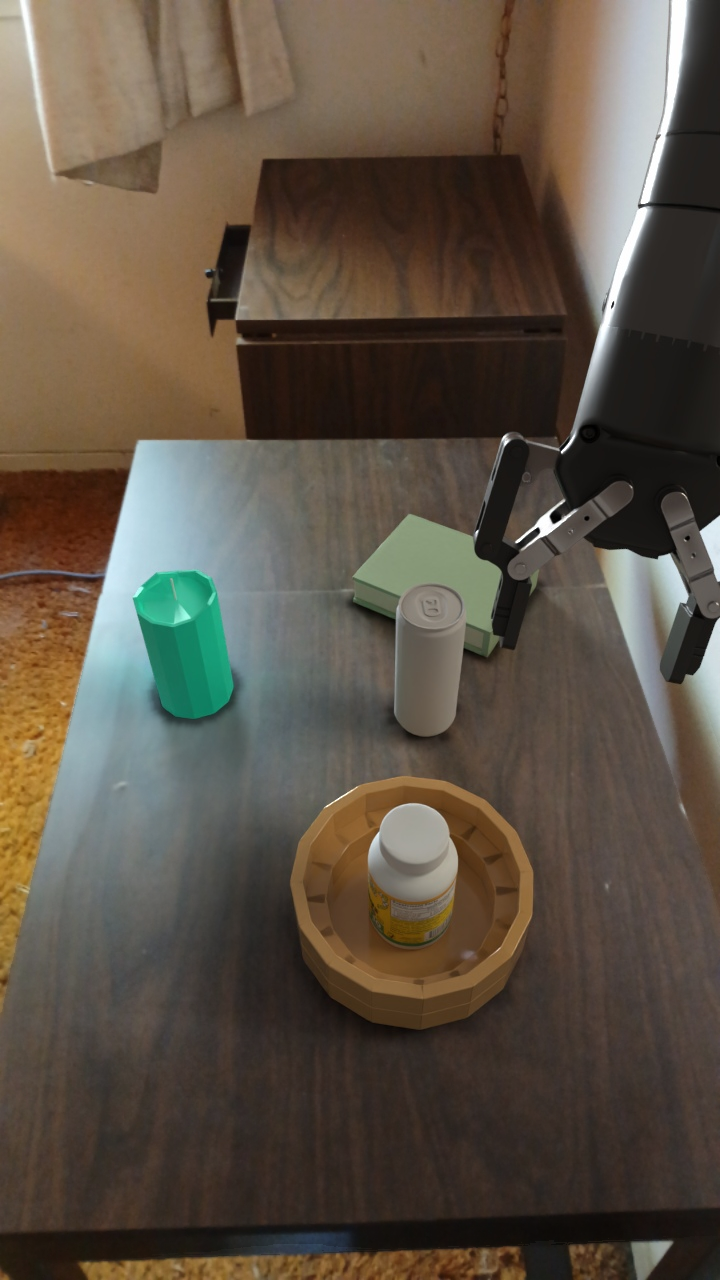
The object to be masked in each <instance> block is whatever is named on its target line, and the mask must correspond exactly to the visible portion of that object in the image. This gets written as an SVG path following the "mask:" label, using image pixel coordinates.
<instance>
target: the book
mask: <svg viewBox="0 0 720 1280" xmlns="http://www.w3.org/2000/svg"><path fill="white" fill-rule="evenodd" d="M539 572H540V568H539V569H538V570H537V571H536V572H534V573H533V574H532V575H530V578H531V582H532V587H531V591H530V595H529V597H530V596H531V595H532V593H533V592H534V590H536V587H537V584H538V578H539ZM500 576H501V570H500V569H499V568H498V567H497V566H496V565H494V564H492V563H491V562H489V561H487V560H482V559H480V558H478V557H477V555H476V554H475V551H474V541H473V535H470V534H467V533H464V532H461V531H459V530H456V529H453V528H452V527H451V528H450V527H448V526H445V525H442V524H440V523H437V522H434V521H431V520H428V519H426V518H423V517H420V516H418V515H415V514H412V513H408V514H407V516H406V517H405V518H403V520H402V521H401V522H400V523H399V525H397V526H396V528H395V529H394V530H393V531H392V532H391V533H390V534H389V535H388V537H387V538H386V539H385V540H384V541H383V542H382V543H381V544H380V545H379V547H378V548H376V550H375V551H374V552H373V553H372V554H371V556H370V557H368V559H367V560H366V561H365V562H364V563H363V564H362V566H360V568H359V569H358V570H357V571H356V572H355V573H354V575H353V576H352V581H353V582H354V597H353V598H352V602H353V603H355V604H357V605H360V606H362V607H364V608H367V609H369V610H371V611H374V612H376V613H378V614H381V615H384V616H386V617H388V618H391V619H393V620H396V612H397V607H398V605H399V600H400V597H401V595H402V594H403V593H404V592H405V591H406V590H407V589H409V588H411V587H412V586H415V585H418V584H422V583H439V584H444V585H446V586H449V587H451V588H453V589H454V590H456V591H457V592H458V593H459V594H460V595H461V596H462V598H463V600H464V602H465V610H466V627H465V636H464V646H463V649H465V650H468V651H470V652H473V653H475V654H478V655H480V656H482V657H485V658H489V656H490V655H491V653H492V651H493V650H494V649H495V647H496V646H497V644H498V643H499V642H500V641H499V636H496V635H493V629H492V622H491V613H492V608H493V604H494V600H495V596H496V592H497V588H498V584H499V580H500Z"/></svg>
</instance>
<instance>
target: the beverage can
mask: <svg viewBox="0 0 720 1280" xmlns="http://www.w3.org/2000/svg"><path fill="white" fill-rule="evenodd" d="M465 627H466V610H465V602H464V600H463V598H462V596H461V595H460V594H459V593H458V592H457V591H456V590H454V589H453V588H451V587H449V586H446V585H444V584H439V583H422V584H418V585H415V586H412V587H411V588H409V589H407V590H406V591H405V592H404V593H403V594H402V595H401V597H400V600H399V605H398V607H397V612H396V619H395V656H394V657H395V660H394V661H395V663H394V664H395V666H394V705H393V706H394V707H393V714H394V716H395V719H396V721H397V723H399V724H400V726H401V727H402V728H403V729H404V730H405V731H407V732H408V733H410V734H412V735H413V736H414V735H415V736H418V737H427V738H428V737H434V736H437V735H439V734H442V733H444V732H445V731H447V730H448V729H449V728H450V727H451V726H452V724H453V723H454V720H455V718H456V715H457V705H458V697H459V696H458V695H459V688H460V682H461V681H460V680H461V672H462V663H463V655H464V648H463V646H464V636H465Z"/></svg>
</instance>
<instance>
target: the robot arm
mask: <svg viewBox="0 0 720 1280" xmlns="http://www.w3.org/2000/svg"><path fill="white" fill-rule="evenodd" d="M667 25H668V26H667V37H666V38H667V39H666V55H665V56H666V58H665V59H666V60H665V84H664V96H663V97H664V98H663V106H662V107H663V108H662V113H661V119H660V122H659V125H658V129H657V132H656V135H655V140H654V142H653V146H652V149H651V154H650V157H649V161H648V165H647V169H646V173H645V176H644V180H643V184H642V187H641V191H640V195H639V200H638V203H637V208H638V209H636V210H635V213H634V216H633V219H632V223H631V225H630V228H629V231H628V233H627V236H626V238H625V240H624V242H623V246H622V248H621V250H620V253H619V255H618V258H617V261H616V263H615V268H614V271H613V274H612V277H611V282H610V285H609V288H608V290H607V292H606V293H605V296H604V300H603V303H602V307H601V320H600V324H599V326H598V331H597V335H596V339H595V342H594V347H593V349H592V354H591V357H590V362H589V367H588V370H587V373H586V377H585V381H584V385H583V388H582V391H581V395H580V400H579V403H578V407H577V411H576V415H575V418H574V422H573V425H572V428H571V431H570V433H569V435H568V436H567V438H566V440H564V442H563V443H562V444H561V445H560V447H554V446H552V445H547V444H545V443H544V444H543V443H539V442H536V441H532V440H529V439H526V438H525V437H524V436H523V434H521V433H520V432H517V431H509V432H507V433H505V434H504V435H503V437H502V438H501V440H500V443H499V446H498V449H497V453H496V458H495V460H494V463H493V467H492V470H491V474H490V476H489V480H488V483H487V487H486V490H485V494H484V497H483V499H482V503H481V507H480V510H479V514H478V517H477V521H476V523H475V528H474V531H473V534H472V536H473V541H474V551H475V554H476V555H477V557H478V558H480V559H482V560H487V561H489V562H491V563H492V564H494V565H496V566H497V567H498V568H499V569H500V570H501V576H500V580H499V584H498V588H497V592H496V596H495V600H494V604H493V608H492V613H491V622H492V629H493V635H496V636H499V641H498V642H499V647H500V649H504V650H511V651H515V650H516V647H517V644H518V640H519V636H520V633H521V629H522V625H523V621H524V619H525V614H526V610H527V606H528V602H529V598H530V596H531V595H530V591H531V587H532V582H531V578H530V575H532V574H533V573H534V572H536V571H537V570H538V569H539V570H540V568H542V567H544V566H545V564H547V563H548V562H549V561H551V560H552V559H553V558H555V557H557V556H561V555H563V554H564V553H565V552H567V551H569V549H571V548H572V547H573V546H574V545H576V544H577V543H578V542H579V541H581V540H582V539H584V540H585V541H587V542H588V543H590V544H591V545H592V547H593V548H597V549H602V550H606V551H616V550H619V551H620V550H627V551H630V552H632V553H634V554H636V555H638V556H640V557H642V558H647V559H654V560H659V557H663V556H667V555H670V558H671V559H672V561H673V563H674V565H675V567H676V569H677V571H678V574H679V577H680V579H681V581H682V583H683V585H684V589H685V591H686V593H687V599H686V602H679V605H678V607H677V610H676V614H675V616H674V618H673V621H672V626H671V629H670V631H669V635H668V638H667V641H666V644H665V646H664V650H663V652H662V653H663V654H662V655H661V659H660V663H659V671H660V673H661V676H662V678H663V679H664V681H665V682H666V683H672V684H677V685H682V684H683V683H684V681H685V678H686V676H694V675H695V674H696V673H697V672H698V671H699V670H700V668H701V665H702V663H703V660H704V657H705V654H706V652H707V649H708V646H709V643H710V640H711V638H712V634H713V632H714V629H715V626H716V624H717V622H718V621H719V619H720V580H719V581H718V578H717V577H716V574H715V568H714V564H713V561H712V559H711V557H710V554H709V551H708V549H707V547H706V545H705V541H704V540H703V536H702V534H701V531H702V530H704V529H705V528H706V527H707V526H709V525H710V524H712V522H714V521H715V520H717V518H719V517H720V0H668V21H667ZM549 470H552V471H553V474H554V477H555V480H556V481H557V485H558V486H559V489H560V491H561V494H562V496H563V499H562V500H561V501H559V502H558V503H557V504H555V506H553V507H552V508H550V509H549V510H548V511H547V512H546V513H545V514H544V515H542V516H541V517H540V518H539V519H538V520H537V521H536V523H535V525H533V526H532V527H531V528H530V529H529V530H527V531H526V532H525V533H524V534H523V535H522V536H520V537H519V538H518V539H516V540H515V541H513V540H512V539H510V538H508V537H507V536H505V534H506V531H507V527H508V524H509V520H510V517H511V515H512V512H513V508H514V504H515V502H516V498H517V495H518V492H519V488H520V487H521V488H528V487H531V486H533V485H534V484H535V483H536V482H537V480H538V478H539V476H540V475H541V474H542V473H543V472H545V471H549ZM563 515H564V516H563ZM529 595H530V596H529Z"/></svg>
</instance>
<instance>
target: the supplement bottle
mask: <svg viewBox="0 0 720 1280" xmlns="http://www.w3.org/2000/svg"><path fill="white" fill-rule="evenodd" d="M457 870H458V855H457V851H456V848H455V845H454V843H453V841H452V840H451V838H450V837H449V829H448V825H447V823H446V821H445V820H444V818H443V817H442V816H441V815H440V814H439V813H438V812H437V811H436V810H434V809H432V808H431V807H428V806H426V805H422V804H413V803H412V804H404V805H401V806H398V807H396V808H394V809H393V810H391V811H390V812H389V813H388V814H387V815H386V816H385V817H384V819H383V821H382V823H381V826H380V831H379V833H378V834H377V835H376V836H375V838H374V839H373V841H372V843H371V846H370V849H369V854H368V898H369V915H370V919H371V922H372V924H373V926H374V928H375V929H376V931H377V932H378V934H379V935H380V936H381V937H382V938H383V939H384V940H385V941H386V942H388V943H389V944H391V945H393V946H395V947H398V948H402V949H421V948H425V947H427V946H430V945H431V944H433V943H435V942H436V941H438V940H439V939H440V938H441V937H442V936H443V935H444V933H445V932H446V930H447V928H448V926H449V924H450V921H451V916H452V909H453V901H454V892H455V885H456V878H457Z"/></svg>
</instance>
